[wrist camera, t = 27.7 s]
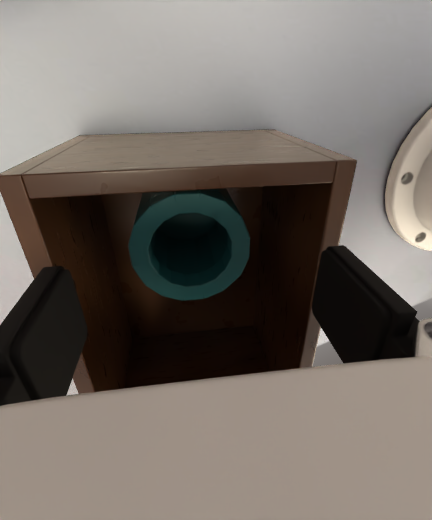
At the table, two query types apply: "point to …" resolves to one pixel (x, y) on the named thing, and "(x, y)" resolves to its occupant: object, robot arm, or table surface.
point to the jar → (188, 243)
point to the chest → (167, 309)
